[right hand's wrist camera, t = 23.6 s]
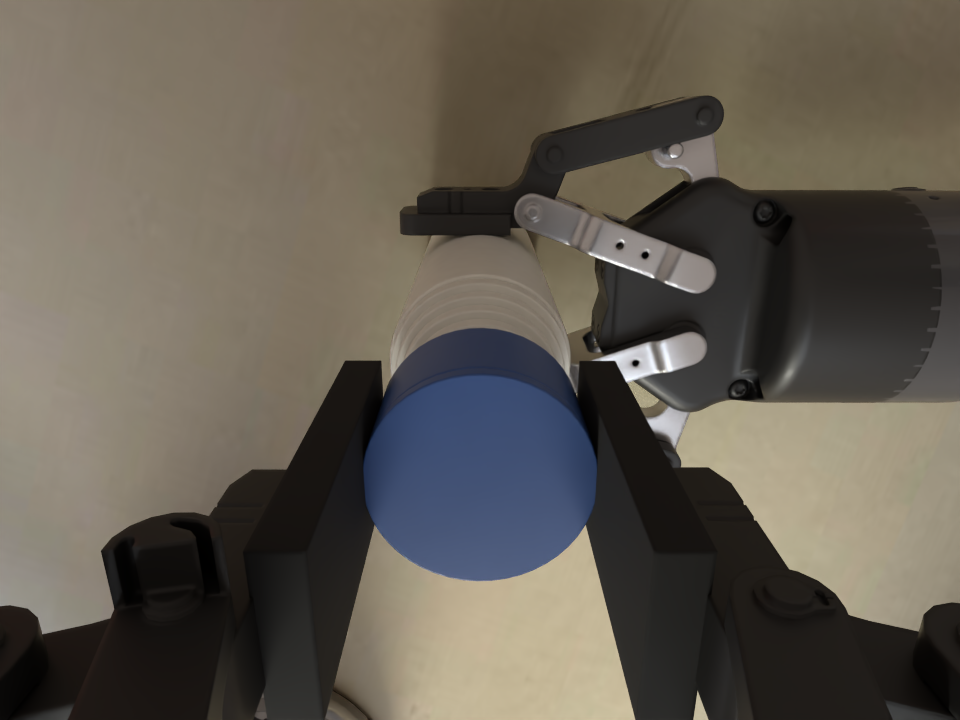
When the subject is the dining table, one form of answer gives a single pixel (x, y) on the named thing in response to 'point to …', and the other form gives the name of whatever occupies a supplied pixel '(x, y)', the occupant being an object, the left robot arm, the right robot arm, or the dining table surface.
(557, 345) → the bottle
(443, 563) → the cap
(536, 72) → the dining table surface
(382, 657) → the dining table surface
